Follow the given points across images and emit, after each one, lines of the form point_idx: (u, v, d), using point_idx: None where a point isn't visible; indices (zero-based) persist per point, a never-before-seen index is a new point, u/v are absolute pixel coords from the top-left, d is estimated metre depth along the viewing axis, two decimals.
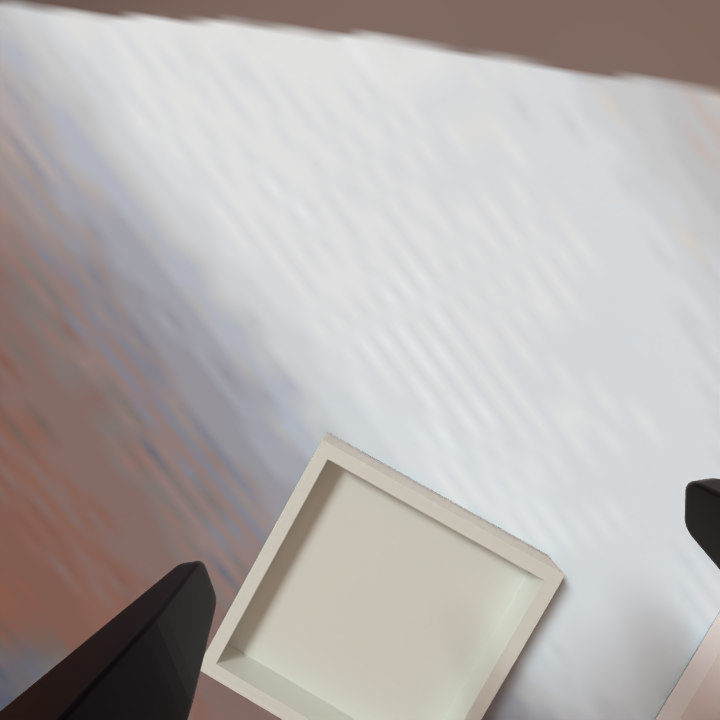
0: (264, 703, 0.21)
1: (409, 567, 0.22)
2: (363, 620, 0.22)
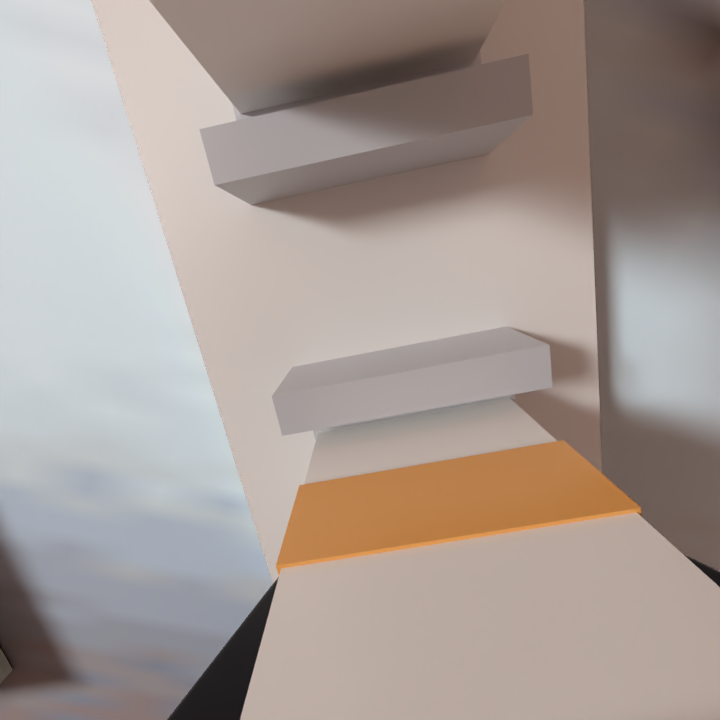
0: None
1: None
2: None
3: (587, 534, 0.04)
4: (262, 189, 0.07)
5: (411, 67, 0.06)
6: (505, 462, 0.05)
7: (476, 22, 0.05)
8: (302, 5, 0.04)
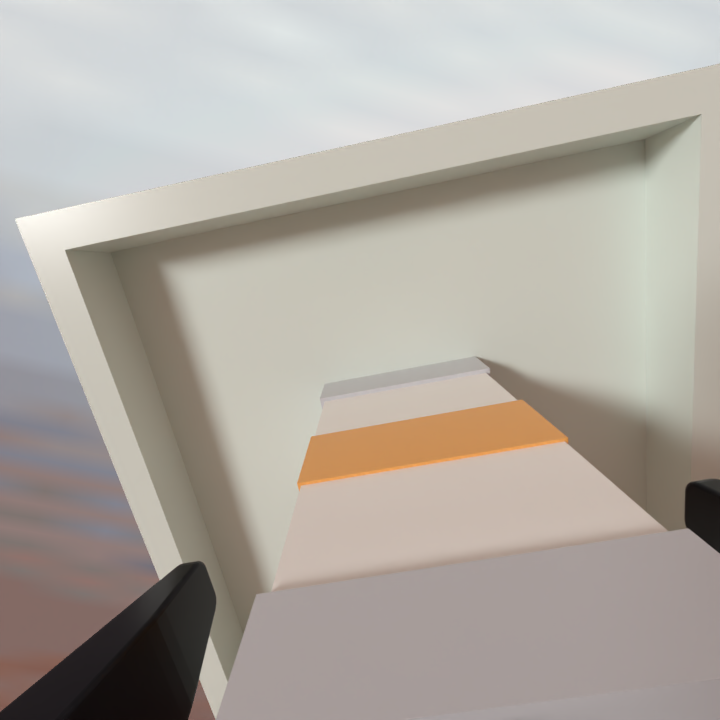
0: None
1: (414, 339, 0.10)
2: None
3: (526, 455, 0.05)
4: None
5: None
6: (475, 415, 0.07)
7: None
8: None
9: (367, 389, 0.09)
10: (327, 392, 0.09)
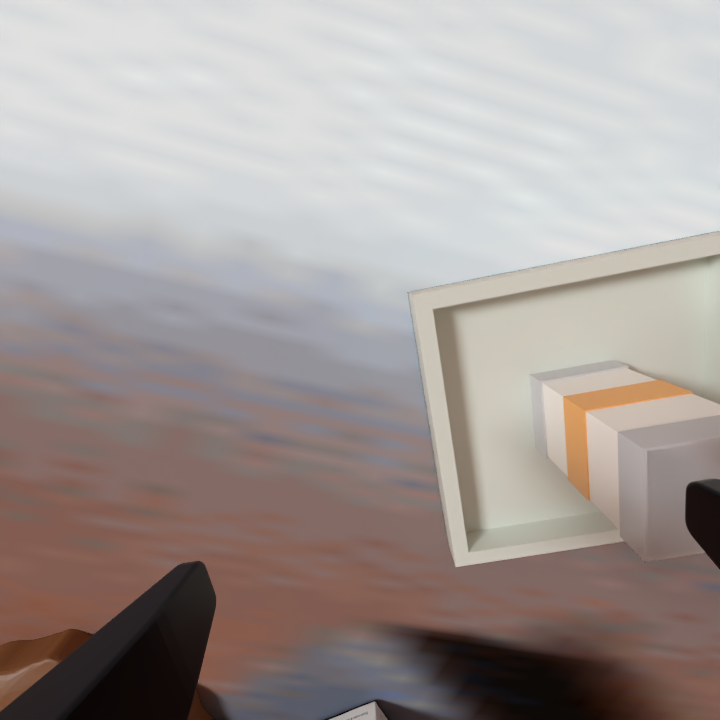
0: (533, 550, 0.20)
1: (580, 350, 0.19)
2: None
3: (678, 398, 0.14)
4: None
5: None
6: (641, 386, 0.15)
7: None
8: None
9: (564, 376, 0.18)
10: (539, 378, 0.18)
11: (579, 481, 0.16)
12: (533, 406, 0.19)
